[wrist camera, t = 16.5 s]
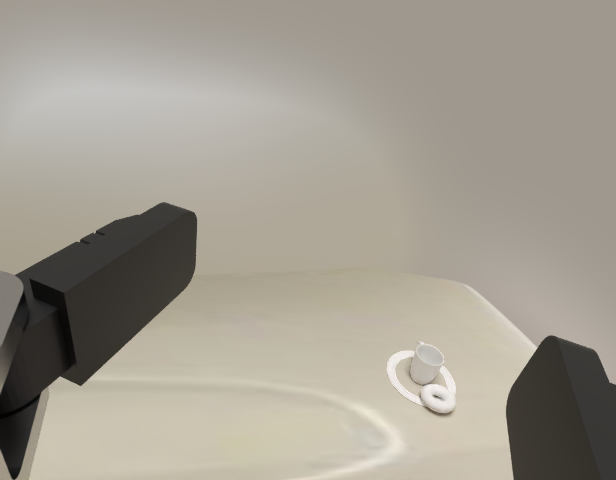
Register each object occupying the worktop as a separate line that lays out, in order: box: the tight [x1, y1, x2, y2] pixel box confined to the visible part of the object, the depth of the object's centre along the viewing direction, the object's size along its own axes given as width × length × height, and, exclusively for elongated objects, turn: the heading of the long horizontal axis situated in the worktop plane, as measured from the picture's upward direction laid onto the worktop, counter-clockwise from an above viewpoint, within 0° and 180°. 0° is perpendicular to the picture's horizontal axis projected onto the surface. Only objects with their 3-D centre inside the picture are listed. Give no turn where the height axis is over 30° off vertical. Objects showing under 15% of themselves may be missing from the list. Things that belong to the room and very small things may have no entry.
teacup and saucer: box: [387, 342, 456, 413], centre depth 44 cm, size 9×8×4 cm
